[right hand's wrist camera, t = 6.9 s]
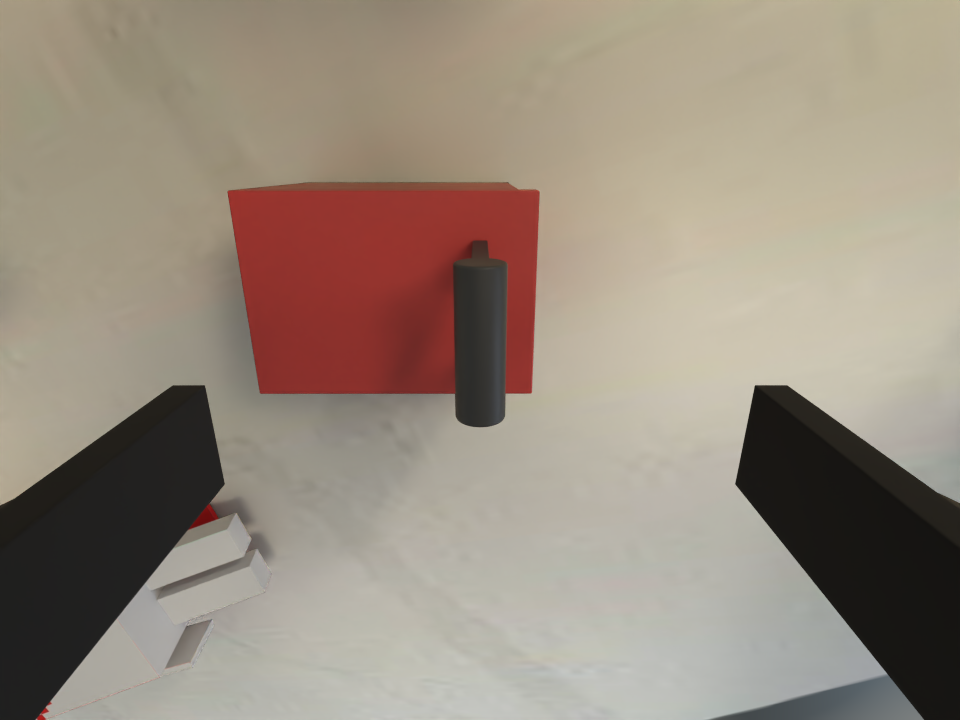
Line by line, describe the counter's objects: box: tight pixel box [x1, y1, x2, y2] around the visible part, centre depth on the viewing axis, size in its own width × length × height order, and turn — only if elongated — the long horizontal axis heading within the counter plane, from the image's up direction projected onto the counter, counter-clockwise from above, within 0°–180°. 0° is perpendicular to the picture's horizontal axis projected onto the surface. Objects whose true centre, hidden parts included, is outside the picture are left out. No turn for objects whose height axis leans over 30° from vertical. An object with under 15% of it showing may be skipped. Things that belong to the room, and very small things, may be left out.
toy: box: [36, 504, 272, 720], centre depth 42 cm, size 12×13×30 cm
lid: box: [228, 190, 539, 427], centre depth 23 cm, size 14×10×9 cm
